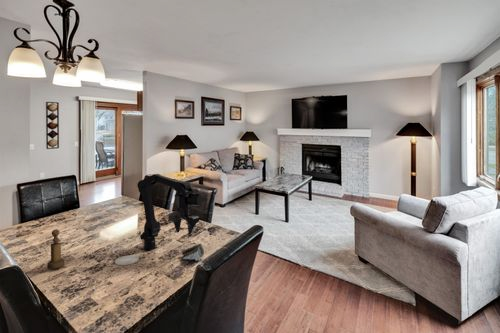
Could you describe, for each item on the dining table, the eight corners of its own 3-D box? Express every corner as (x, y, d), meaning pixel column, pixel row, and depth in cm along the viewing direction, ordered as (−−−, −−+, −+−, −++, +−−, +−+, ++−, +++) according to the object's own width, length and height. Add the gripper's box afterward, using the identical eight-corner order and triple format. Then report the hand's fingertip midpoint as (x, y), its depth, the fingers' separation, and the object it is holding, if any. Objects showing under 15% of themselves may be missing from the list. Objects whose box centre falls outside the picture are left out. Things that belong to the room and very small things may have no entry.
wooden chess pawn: (67, 263, 125) (67, 227, 125) (58, 268, 118) (57, 231, 118) (54, 263, 125) (53, 228, 125) (43, 269, 118) (43, 231, 118)
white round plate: (110, 262, 126) (110, 260, 126) (131, 255, 135) (131, 253, 135) (122, 267, 120) (122, 264, 120) (143, 259, 129) (143, 257, 129)
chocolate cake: (176, 261, 126) (193, 246, 124) (180, 252, 133) (195, 238, 131) (190, 272, 128) (207, 258, 126) (193, 263, 135) (208, 250, 133)
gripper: (159, 205, 133) (160, 234, 133) (183, 208, 123) (183, 240, 123) (176, 202, 142) (176, 230, 142) (200, 205, 132) (200, 235, 132)
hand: (183, 233), depth 135 cm, fingers open, 9 cm apart
